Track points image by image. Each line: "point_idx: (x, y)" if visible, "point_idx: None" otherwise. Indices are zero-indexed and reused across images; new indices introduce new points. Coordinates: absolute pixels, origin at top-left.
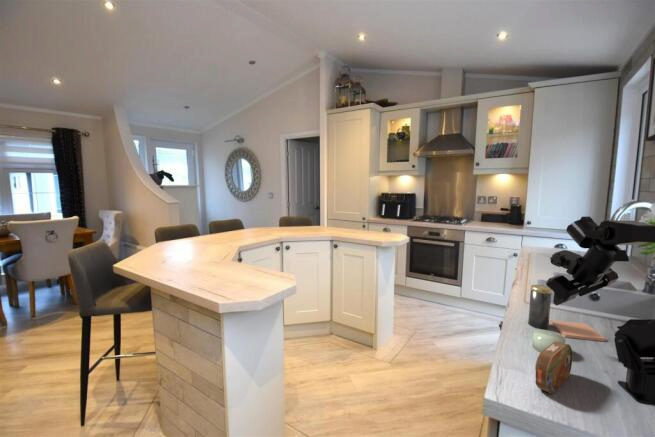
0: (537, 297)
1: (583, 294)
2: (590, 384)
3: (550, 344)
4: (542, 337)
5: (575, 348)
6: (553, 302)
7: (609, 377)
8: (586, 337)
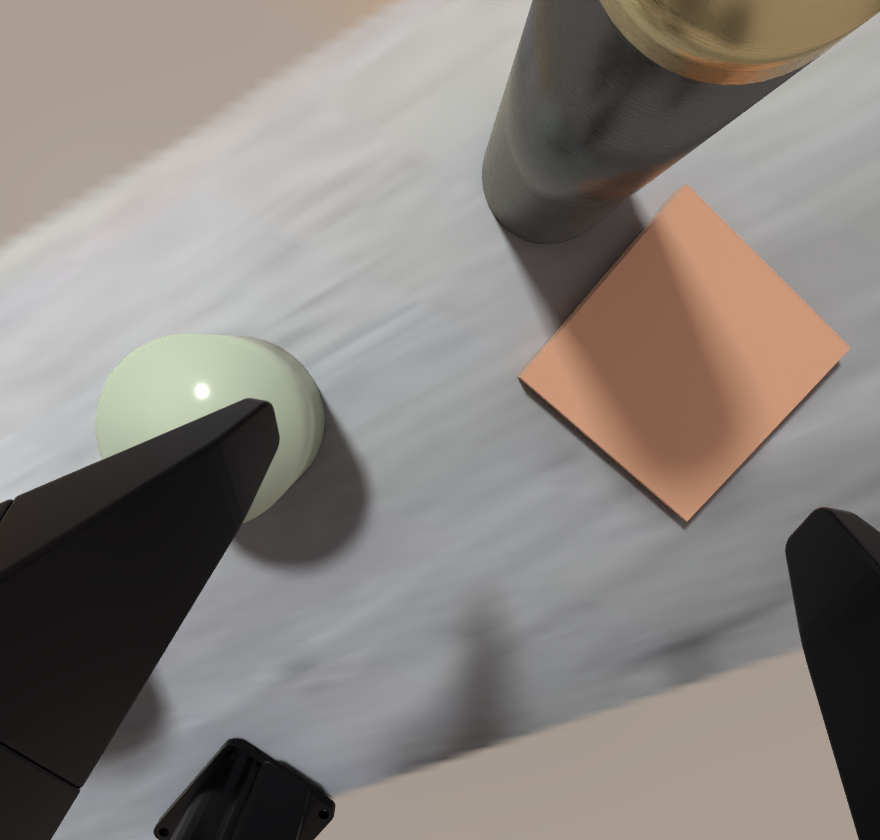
0: (548, 9)
1: (806, 626)
2: None
3: None
4: (122, 429)
5: (415, 482)
6: (239, 405)
7: (257, 697)
8: (611, 454)
